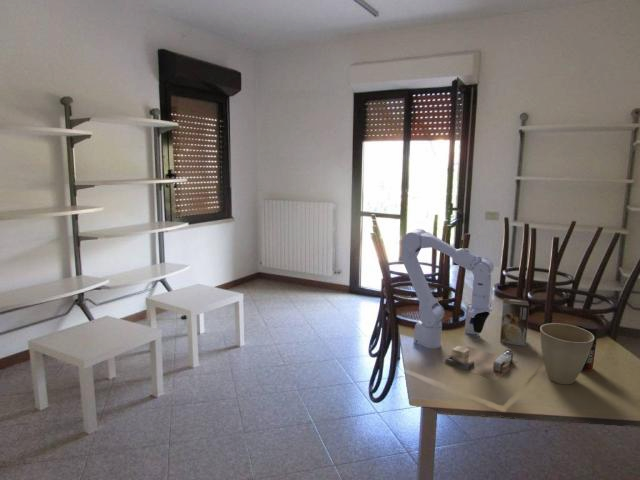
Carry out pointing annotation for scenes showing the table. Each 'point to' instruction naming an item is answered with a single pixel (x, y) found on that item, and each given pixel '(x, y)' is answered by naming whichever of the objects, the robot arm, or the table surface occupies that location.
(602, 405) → the table surface
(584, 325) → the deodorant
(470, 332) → the energy drink
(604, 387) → the table surface
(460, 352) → the leg stub
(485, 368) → the plate
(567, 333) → the plant pot
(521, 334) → the coffee box
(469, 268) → the robot arm
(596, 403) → the table surface
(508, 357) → the hinged leg
